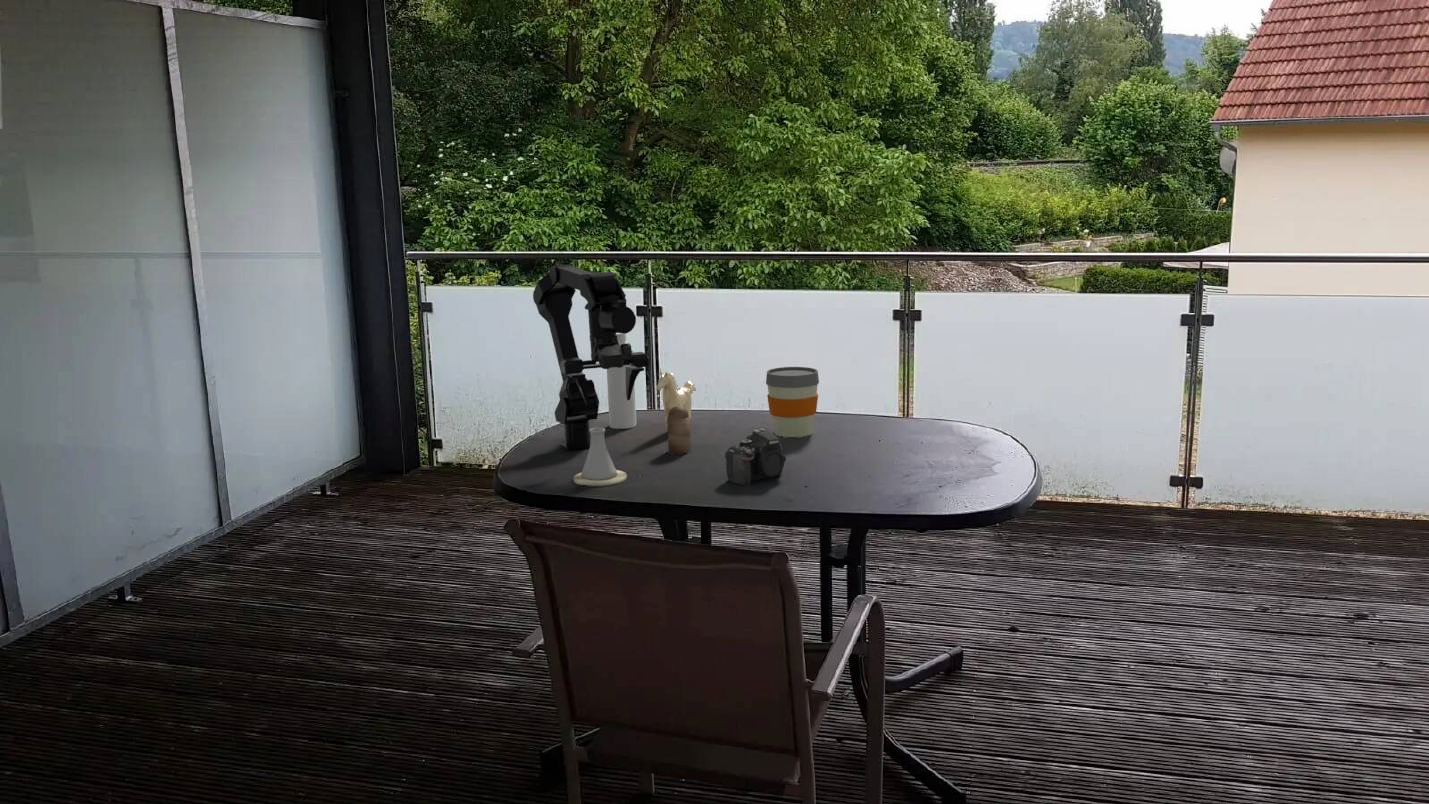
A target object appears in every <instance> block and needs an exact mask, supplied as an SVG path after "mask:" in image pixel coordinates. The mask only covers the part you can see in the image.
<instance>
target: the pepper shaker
mask: <svg viewBox="0 0 1429 804" xmlns="http://www.w3.org/2000/svg"><path fill="white" fill-rule="evenodd" d="M690 423H691V419H690V420H689V416H688V412H687V410H686V409H685V408H684V407H682V406H675V407H673V408H671V409H670V411H669V413H668V417H667V426H666V427H667V444H668V447H667V448H668V454H671V453H673V454H672V455H685V454H684V453H686V454H689V453H691V449H692V448H691V424H690ZM688 452H689V453H688Z"/></svg>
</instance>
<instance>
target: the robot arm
mask: <svg viewBox="0 0 1429 804" xmlns="http://www.w3.org/2000/svg"><path fill="white" fill-rule="evenodd" d="M576 290H578V291H579V292H580V293H579V294H580V296H581V297H582V298H584V299H585V301H586V302H587V303H586V304H585V306H584V310H587V312H588V313H587V314H588V316H587V317H588V329H589V336H588V337H589V341H590V342H589V344H590V359H589V360H588V359H586V360H583V359H581V358H580V357H579V353H578V349H577V345H576V341H575V337H574V334H573V330H572V326H571V322H570V313H571V310H572V308H573V301H572V300H573V297H574V295H575V293H576V292H577V291H576ZM626 297H627V296H626V293H625V291H624V290H623V287H622V286H621V284H620V282H619V279H618V278H617V277H616V274H614V272H612V271H602V272H591V271H588V270H585V269H581V268H578V267H576V266H574V265H572V264H560V265H559V264H557V265H554V266H551V267H550V270H549V271H548V273H547V274H545V275H544V276H543V277H541V278H540V279H539V280H537V283H536V285H535V287H534V290H533V292H532V299H533V303H534V304H535V305H536V308H537V311H538V314H539V315H540V316H541V317H542V318H543V319H544V320H545V321H546V323H548V326H549V331H550V334H551V339H552V342H553V346H554V350H555V355H556V358H557V359H556V360H557V363H558V367H559V370H560V375H561V379H562V383H561V386H560V391H559V393H558V396H559V402H558V404H557V405H556V408H555V410H554V418H555V421H556V423H557V422H558V423H560V424H562V425H564V440H565V441H563V442H561V446H562V447H563V448H564V449H565V450H567V451H573V450H581V449H589V448H590V442H591V433H590V432H589V429H590V421H591V420H592V421H593V420H598V415H599V407H600V400H599V396H598V394H597V391H596V387H595V382H594V381H593V379H587V377H586V374H585V373H583V371H584V370H588V369H589V370H590V369H600V368H601V369H603V370H607V369H609V368H614V367H617V368H621V367H623V365H628V367H625V372H626V396H627V400H630V397H631V394H632V390H633V386H634V383H635V382H636V380H637V377H638V376H639V374H640V373H641V372H644V370H645V368H648V367H650V366H651V359H650V356H649V355H648V354H647V353H646V352H643V351H636V352H635V351H633V350H632V345H631V343H625V344H621V345H619V343H618V338H617V336H616V333H622V334H625V333H626V334H628V333H630V332H632V330H633V329H634V328H635V326H636V323H637V316H636V314H635V311H633V309H631V308H630V307H629V306H627V298H626ZM632 351H633V353H632ZM635 384H636V383H635Z"/></svg>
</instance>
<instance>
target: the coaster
mask: <svg viewBox="0 0 1429 804" xmlns="http://www.w3.org/2000/svg"><path fill="white" fill-rule="evenodd" d="M616 471H617V474H618V475H616V476H614V477H611V478H607V479H600V480H593V479H586V478H584V477H583V476H582V475H581V474H582V472H579V473H577V474H575V475H574V476H573V482H574V483H575V484H576V485H578V486H583V485H588V486H587V487H607V486H613V485H617V484H618V485H619V484H621V483H623V482H625V481H627V478H628V474H627V473H626V472H625V471H623V470H618V469H616Z"/></svg>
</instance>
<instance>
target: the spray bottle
mask: <svg viewBox="0 0 1429 804" xmlns="http://www.w3.org/2000/svg"><path fill="white" fill-rule="evenodd" d="M616 336H617V338H618V343H619V345H621V344H626V341H627V333H625V334H622V333H616ZM632 353H634V351H633V350H632ZM625 367H628V365H623V367H621V368H617V367H614V368H609V369H606V380H607V399H608V400H607V403H608V419H609V420H608V423H609V428H611V429H615V430H616V429H617V430H623V429H631V428H635V427H636V426H637V411H636V410H637V407H636V390H635V389H636V387H635V385H636V383H634V386H633V390H632V394H631V397H630V400H627V396H626V372H625Z"/></svg>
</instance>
